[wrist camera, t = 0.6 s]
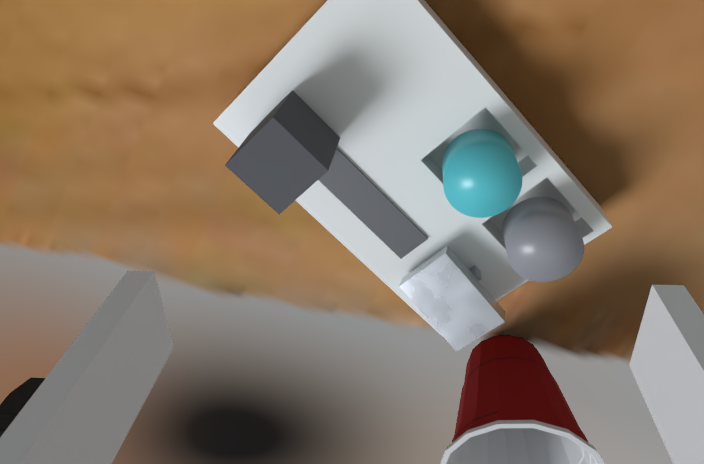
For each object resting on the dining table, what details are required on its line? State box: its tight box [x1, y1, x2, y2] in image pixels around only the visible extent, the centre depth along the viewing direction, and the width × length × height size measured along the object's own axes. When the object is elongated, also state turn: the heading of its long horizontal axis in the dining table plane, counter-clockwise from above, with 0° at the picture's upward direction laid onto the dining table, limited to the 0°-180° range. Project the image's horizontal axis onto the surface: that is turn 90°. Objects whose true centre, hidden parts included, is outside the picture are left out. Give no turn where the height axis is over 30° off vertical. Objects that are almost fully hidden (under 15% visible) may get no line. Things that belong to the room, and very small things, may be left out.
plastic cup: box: [440, 335, 605, 464], centre depth 41 cm, size 11×11×12 cm
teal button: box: [442, 129, 522, 218], centre depth 34 cm, size 4×4×3 cm
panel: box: [213, 0, 612, 335], centre depth 37 cm, size 22×14×4 cm, turn 45°
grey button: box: [502, 197, 584, 282], centre depth 35 cm, size 4×4×3 cm
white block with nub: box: [399, 245, 505, 351], centre depth 38 cm, size 6×4×1 cm, turn 44°
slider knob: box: [225, 90, 340, 214], centre depth 33 cm, size 4×4×5 cm
